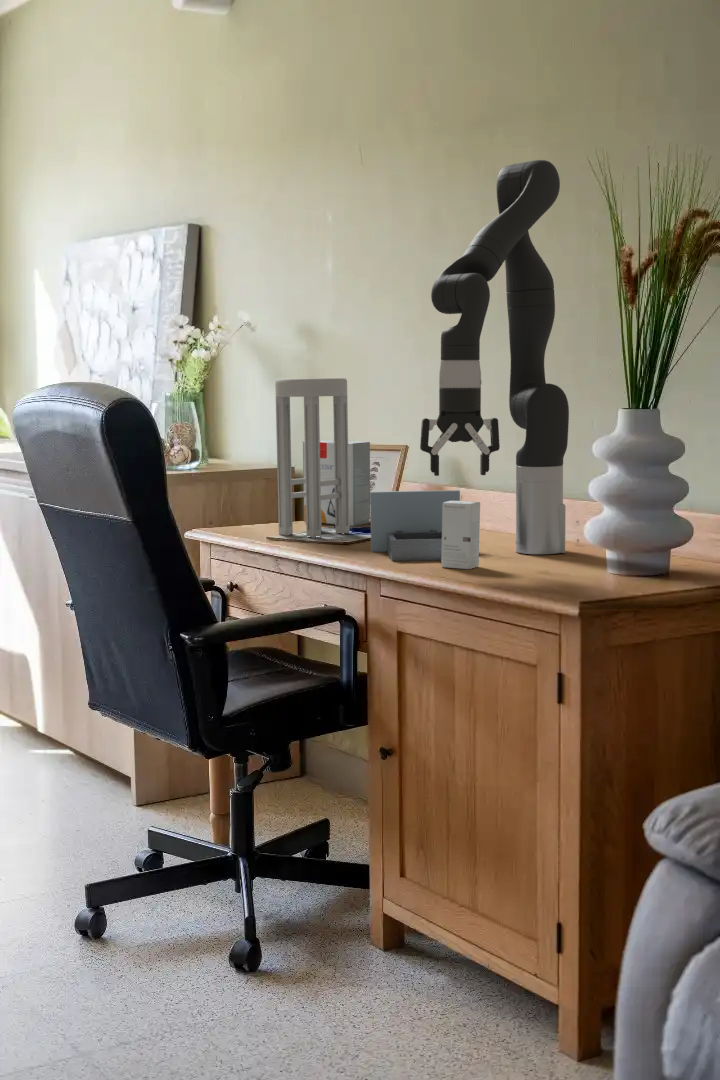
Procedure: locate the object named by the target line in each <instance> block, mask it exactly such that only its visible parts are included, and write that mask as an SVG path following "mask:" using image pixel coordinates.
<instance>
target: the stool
mask: <svg viewBox="0 0 720 1080" xmlns="http://www.w3.org/2000/svg"><path fill="white" fill-rule="evenodd" d="M274 387H275V388H274V389H275V417H276V418H275V421H276V422H275V424H276V426H275V427H276V428H275V429H276V462H277V463H276V465H277V466H276V469H277V470H276V471H277V472H276V473H277V474H276V475H277V509H278V511H277V512H278V514H277V515H278V517H277V518H278V535H279V536H290V534H292V535H294V534H293V533H294V530H293V529H294V528H293V526H294V525H293V499H300V498H304V497H306V522H305V523H306V526H305V527H306V528H305V529H306V537H307V536H310V537H316V536H321V537H322V523H321V500H328V499H335V524H334V525H335V526H334V527H335V534H336V533H348V534H350V533H351V532H350V531H351V530H350V526H349V467H348V441H349V425H348V424H349V418H348V417H349V415H348V414H349V413H348V411H349V410H348V380H347V378H345V377H316V378H314V377H312V378H311V377H310V378H309V377H308V378H300V377H299V378H277V379H276V380H275V385H274ZM291 397H292V398H296V397H298V398H301V397H302V398H303V423H304V425H303V426H304V427H303V428H304V441H305V478H303V477H302V478H301V477H300V478H292V477H293V476H292V474H293V473H292V439H291V438H292V437H291V436H292V434H291ZM320 397H332V401H333V402H332V403H333V405H332V406H333V408H332V409H333V441H334V470H335V479H334V480H324V481H321V479H320V440H321V437H320V436H321V433H320V431H321V430H320ZM305 483H306V491H305V492H304V491H298V492H297V491H295V492H293V488H292V487H293V486H294V485H295V486H296V485H302V484H305ZM330 485H335V493H331V494H322V495H321V486H330ZM349 532H350V533H349Z"/></svg>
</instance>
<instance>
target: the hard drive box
mask: <svg viewBox="0 0 720 1080" xmlns="http://www.w3.org/2000/svg"><path fill="white" fill-rule="evenodd" d="M302 466H303V467H302V470H303V471H302V472H303V477H302V478H305V440H304V441H302ZM348 467H349V527H350V526H351V527H354V526H359V525H367V524H371V507H370V492H371V442H370V441H355V440H348ZM320 479H321V481H324V480H334V479H335V470H334V439H332V440H328V439H326V440H325V439H320ZM302 488H303V492H305V491H306V483H305V484H303V487H302ZM331 493H335V485H330V486H321V495H322V494H331ZM369 519H370V521H369ZM303 522H304V523H306V497H303ZM321 524H327V525H335V499H328V500H321Z"/></svg>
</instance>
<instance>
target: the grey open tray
mask: <svg viewBox="0 0 720 1080" xmlns="http://www.w3.org/2000/svg"><path fill="white" fill-rule="evenodd" d="M386 553H387V555H388V557H389V558H390V559H389V560H390V561H391V562H404V561H405V562H409V561H411V562H412V561H416V562H417V561H441V554H442V532H437V530H430V532H411V533H402V530H399V531H396V533H387V551H386Z"/></svg>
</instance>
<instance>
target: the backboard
mask: <svg viewBox="0 0 720 1080" xmlns="http://www.w3.org/2000/svg"><path fill="white" fill-rule="evenodd" d="M447 501H461V490H460V489H455V490H453V489H451V490H447V489H445V490H444V489H443V490H404V491H403V490H402V491H401V490H396V491H370V550H371V551H370V552H374V553H375V552H387V533H396V531H399V530H402V533H411V532H430V530H437V532H442V504H443V503H444V502H447Z"/></svg>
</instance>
